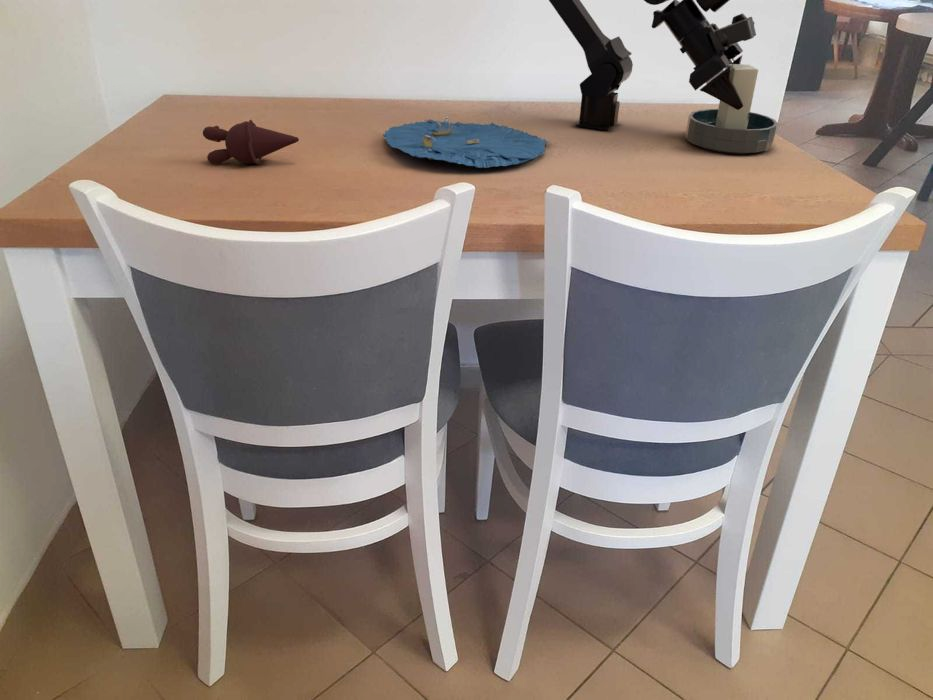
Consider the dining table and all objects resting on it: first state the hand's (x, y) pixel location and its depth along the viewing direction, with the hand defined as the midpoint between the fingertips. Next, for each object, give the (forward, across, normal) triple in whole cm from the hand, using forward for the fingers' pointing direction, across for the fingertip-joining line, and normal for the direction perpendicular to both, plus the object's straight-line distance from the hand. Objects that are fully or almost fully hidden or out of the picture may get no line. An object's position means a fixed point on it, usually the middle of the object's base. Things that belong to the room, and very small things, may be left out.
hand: (744, 104), depth 131 cm
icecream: (-42, -52, +53) cm, 85 cm away
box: (+4, 0, +6) cm, 7 cm away
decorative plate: (-25, -27, +35) cm, 51 cm away
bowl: (+4, 0, +6) cm, 7 cm away
